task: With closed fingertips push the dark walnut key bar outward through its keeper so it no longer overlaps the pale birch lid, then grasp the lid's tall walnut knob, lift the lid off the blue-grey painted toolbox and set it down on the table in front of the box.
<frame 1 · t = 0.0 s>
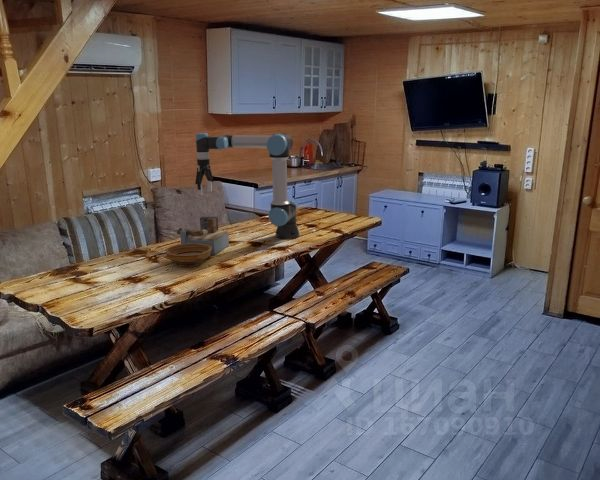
hand: (205, 193, 333), 28 cm above the table, fingers open, 13 cm apart
lid: (208, 236, 309), point 8 cm above the table, touching toolbox
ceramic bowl: (189, 263, 286), on the table
key: (190, 231, 307), point 11 cm above the table, slide at 0.0 cm
toolbox: (209, 249, 311), on the table
small box: (209, 233, 350), on the table
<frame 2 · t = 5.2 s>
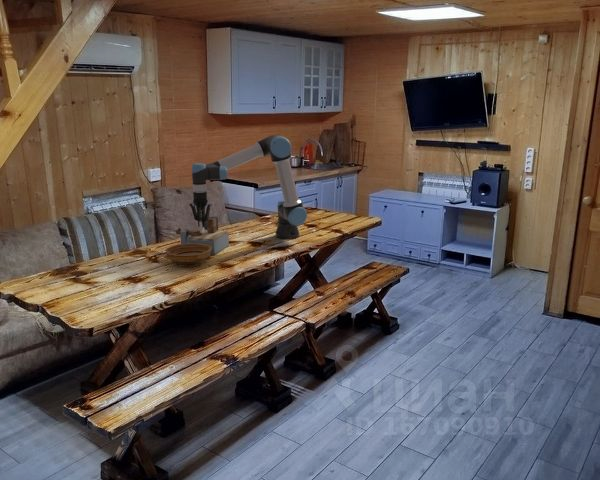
hand: (202, 232, 305), 11 cm above the table, fingers closed
key: (189, 231, 307), point 11 cm above the table, slide at 0.6 cm, touching gripper
everything else where it was.
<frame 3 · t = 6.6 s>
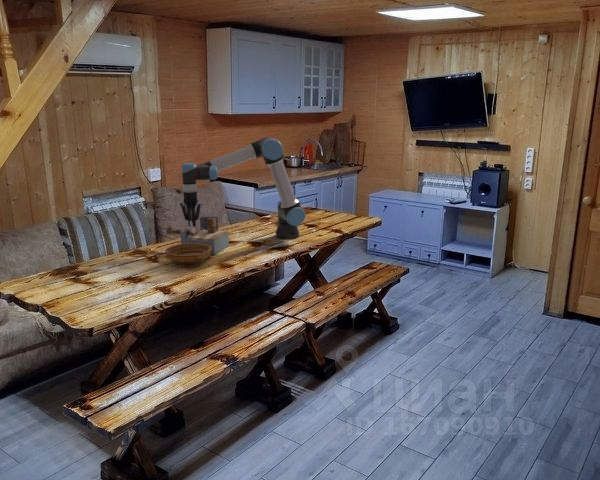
hand: (192, 231, 307), 11 cm above the table, fingers closed
key: (179, 230, 309), point 11 cm above the table, slide at 6.7 cm, touching gripper
everything else where it was.
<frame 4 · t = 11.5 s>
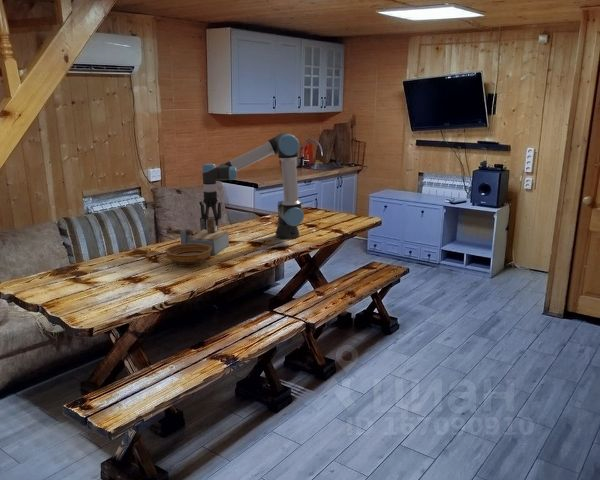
hand: (212, 230, 313), 10 cm above the table, fingers closed on lid, 4 cm apart
lid: (208, 236, 309), point 8 cm above the table, touching gripper, toolbox
key: (179, 230, 309), point 11 cm above the table, slide at 6.7 cm
everything else where it was.
when the fingers open (4 cm above the table, at t = 19.2 s): lid drops 2 cm, on the table.
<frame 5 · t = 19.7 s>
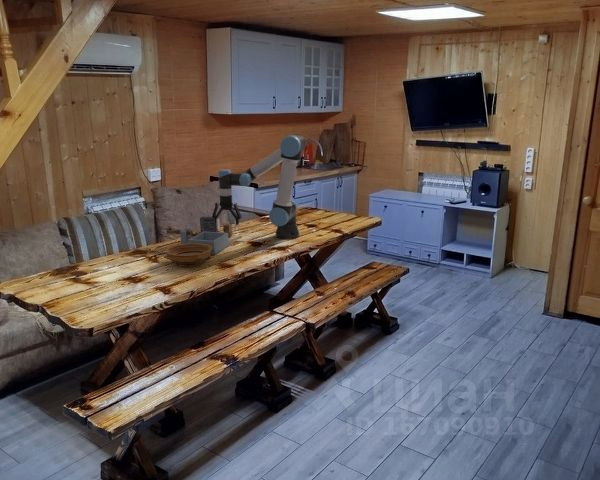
hand: (227, 229, 335), 6 cm above the table, fingers open, 11 cm apart
lid: (224, 240, 332), on the table
everything else where it was.
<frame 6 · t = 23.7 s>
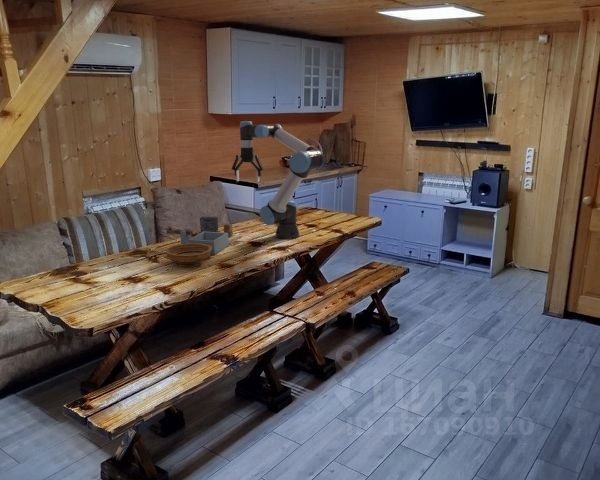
hand: (247, 181, 334), 35 cm above the table, fingers open, 13 cm apart
nothing on the table moved.
at the end: key slide at 6.7 cm; lid inside the target area (0.4 cm from its centre), on the table; lid tilted 0° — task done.
